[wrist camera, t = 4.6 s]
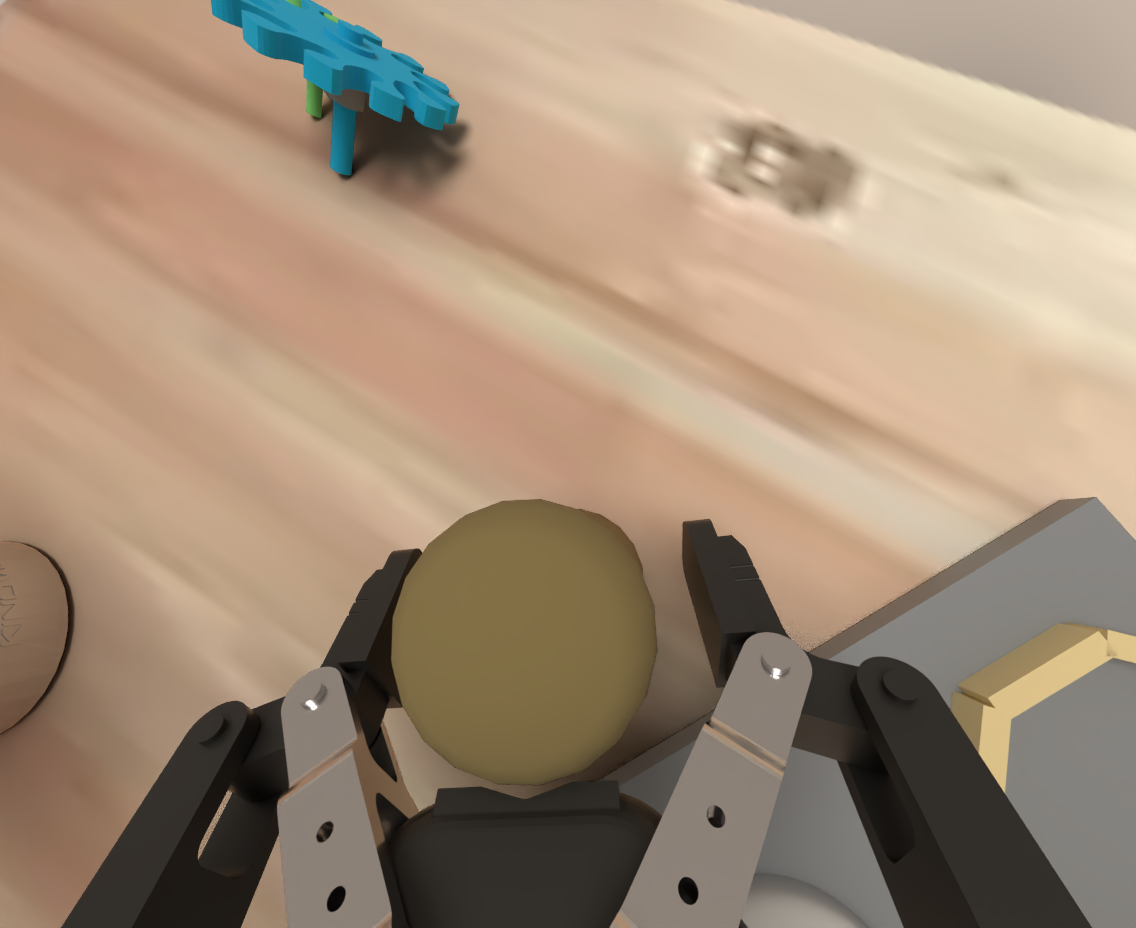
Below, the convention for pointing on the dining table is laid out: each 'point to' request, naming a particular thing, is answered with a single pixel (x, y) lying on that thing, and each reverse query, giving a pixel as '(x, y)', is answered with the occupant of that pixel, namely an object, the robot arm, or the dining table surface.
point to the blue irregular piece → (340, 67)
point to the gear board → (977, 723)
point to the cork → (524, 641)
